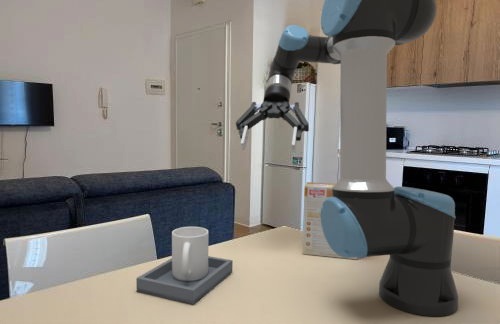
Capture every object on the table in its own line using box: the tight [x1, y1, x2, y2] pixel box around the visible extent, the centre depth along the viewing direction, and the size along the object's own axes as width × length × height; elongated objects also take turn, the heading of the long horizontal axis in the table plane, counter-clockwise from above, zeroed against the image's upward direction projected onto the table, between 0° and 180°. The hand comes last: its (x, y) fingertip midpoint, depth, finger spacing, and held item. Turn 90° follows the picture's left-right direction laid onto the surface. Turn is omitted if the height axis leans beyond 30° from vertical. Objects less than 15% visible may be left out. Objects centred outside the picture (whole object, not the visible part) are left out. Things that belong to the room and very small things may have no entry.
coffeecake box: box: [302, 182, 359, 261], centre depth 105 cm, size 15×7×20 cm, turn 76°
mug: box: [171, 226, 209, 281], centre depth 85 cm, size 12×8×10 cm
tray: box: [135, 255, 234, 306], centre depth 85 cm, size 14×18×3 cm
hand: (267, 147), depth 99 cm, fingers open, 13 cm apart
